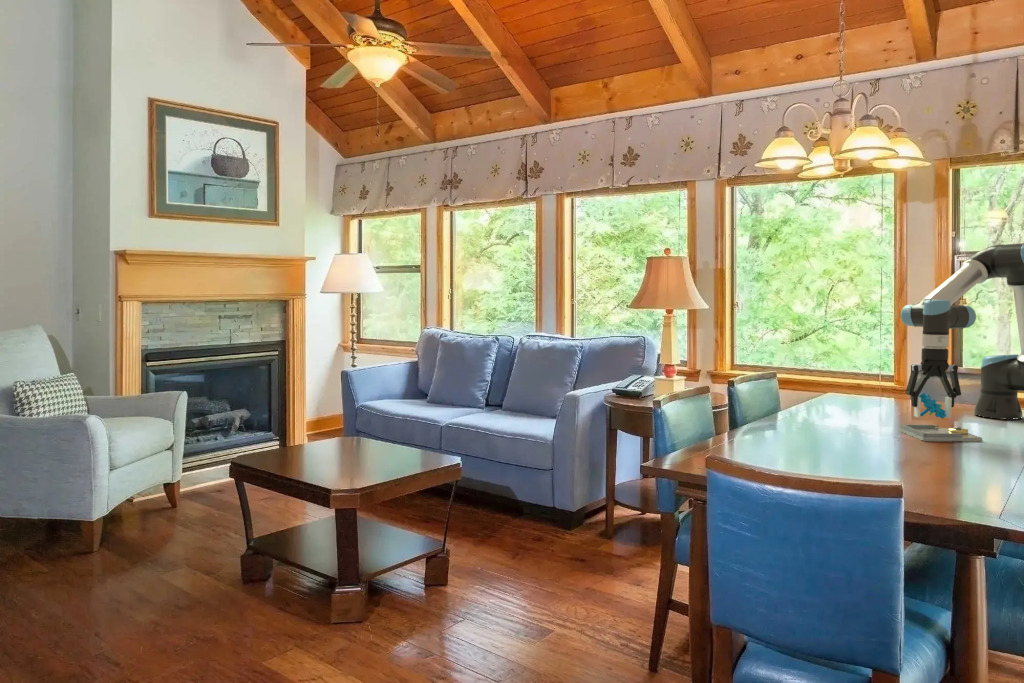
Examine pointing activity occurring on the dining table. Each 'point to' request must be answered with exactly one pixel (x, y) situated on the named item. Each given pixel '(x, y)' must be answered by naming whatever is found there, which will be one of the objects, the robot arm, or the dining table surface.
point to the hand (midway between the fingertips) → (932, 417)
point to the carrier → (938, 433)
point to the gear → (931, 406)
